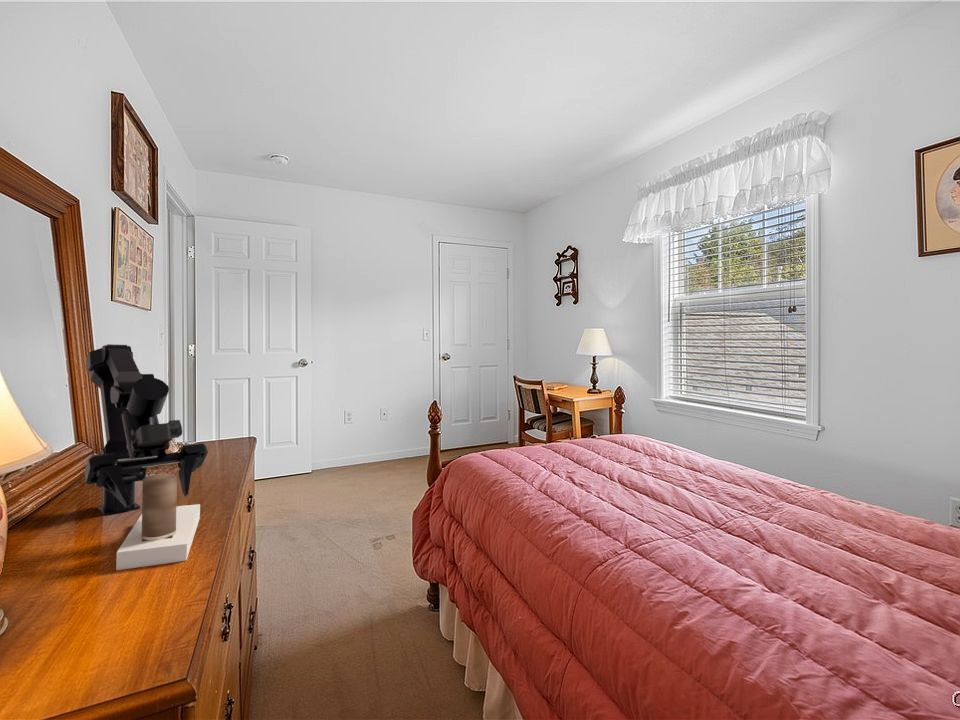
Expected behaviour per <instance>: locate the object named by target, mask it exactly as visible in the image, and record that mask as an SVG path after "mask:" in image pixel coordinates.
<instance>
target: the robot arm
mask: <svg viewBox="0 0 960 720" xmlns="http://www.w3.org/2000/svg"><path fill="white" fill-rule="evenodd" d="M85 370H86V372H89V380H90V381H91V382H92V383H93V384H94V385H95V386H96V387H97V388H98V389H99V390H100V398H101V407H102V414H103V415H102V416H103V423H104V431H105V438H106V439H105V440H106V444H105V445H104V447H103V448H102V451H101V453H100V454H91V456H90V457H88V459H87V462H86V466H85V468H84V469H85V470H84V479H85V480H84V481H85V484H86V485H95V487H97V488H102V487H103V488H102V491H103V493H102V498H103V499H102V501H103V502H102V505H98V506H97V509H98V510H99V512H101V513H102V514H103V515H104V516H110V515H114V514H120V513H124V512H126V513H127V512H130V511H134V510H139V509H141V505H140V504H138V503H137V502H136V482H143V479H144V478H146V477H147V468H151V467H155V466H156V467H157V466H164V465H165V466H166V465H171V464H177V467H178V469H179V470H178V472H177V473H178V478H179V483H180V487H181V492H182V494H183V497H185V498H186V497H188V495H189V489H190V483H191V477H192V473H194V472H196V470H197V469H198V468H201V467H202V466H203V463H204V461H205V459H206V458H207V455H208V453H209V450H208V448H207V445H206V444H204V443H202V442H196V443H186V444H182V446H181V448H180V451H179V452H171V453H167V450H169V449H170V447H171V445H170V442H171V441H173V439H175V438H176V439H177V438H178V439H179V438H180V437H181V436H182V435H183V427H182V423H181V420H180V419H173V420H169V421H168V422H167V423H166V422H165V423H160V422H159V421H160V420H159V418H158V415H160V414H161V413H162V410H163V407H164V405H165V402H166V400H167V397H168V394H169V391H170V387H169V385H168V384H167V383H166V382H164V381H163V380H162V379H159V378H155V375H154V373H141V372H140V369H139V368H138V365H137V364H136V362H135V359H134V352H133V350H132V347H131V345H127V344H105V345H104V344H103V346H101V348H97V349H95V350H91V351H89V352H88V354H87V355H86V357H85Z"/></svg>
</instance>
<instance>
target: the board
mask: <svg viewBox="0 0 960 720" xmlns="http://www.w3.org/2000/svg"><path fill="white" fill-rule="evenodd" d="M200 519H201V504H200V503H198V504H197V503H196V504H189V505H179V506H178V505H177V506H176V534H175V535H173V536H171V537H169V538H167V539H161V540H155V541H147V540H143V539H141V534H142V513H141V515H140V516H139V517H138V519H137V521H136V522H135V524H134V525H133V527H132V528H131V530H130V531H129V533H128V534H127V536H126V538H125V539H124V541H123V542H122V544H121V545H120V546H119V548H118V549H117V551H116V561H115V562H116V564H115V566H116V567H115V568H116V571H120V570H121V571H122V570H127V569H128V570H129V569H135V568H143V567H148V566H149V567H150V566H151V567H152V566H157V565H164V564H170V563H171V564H173V563H179V562H185V561H187V560H188V556H189V553H190V550H191V548H192V547H191V546H192V545H193V540H194V537H195V534H196V532H197V528H198V525H199V521H200Z"/></svg>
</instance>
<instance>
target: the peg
mask: <svg viewBox="0 0 960 720" xmlns="http://www.w3.org/2000/svg"><path fill="white" fill-rule="evenodd" d="M177 488H178V475H177V474H171V473H164V474H163V473H162V474H160V473H159V474H153V475H149V476H146V478H144V479H143V481H142V495H141V496H142V500H141V514H142V534H141V539H143V540H147V541H155V540H161V539H167V538H169V537H171V536H173V535H175V534H176V506H178V505H177V504H178V503H177V499H178V496H177V494H178V493H177V492H178V489H177Z"/></svg>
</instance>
